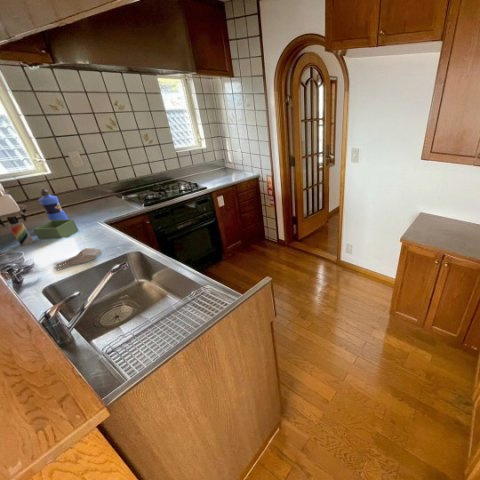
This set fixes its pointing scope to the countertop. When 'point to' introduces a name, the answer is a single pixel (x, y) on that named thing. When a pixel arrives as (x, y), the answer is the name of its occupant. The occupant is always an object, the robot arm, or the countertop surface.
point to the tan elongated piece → (80, 257)
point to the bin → (56, 229)
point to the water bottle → (52, 206)
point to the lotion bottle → (19, 231)
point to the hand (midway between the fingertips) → (14, 223)
